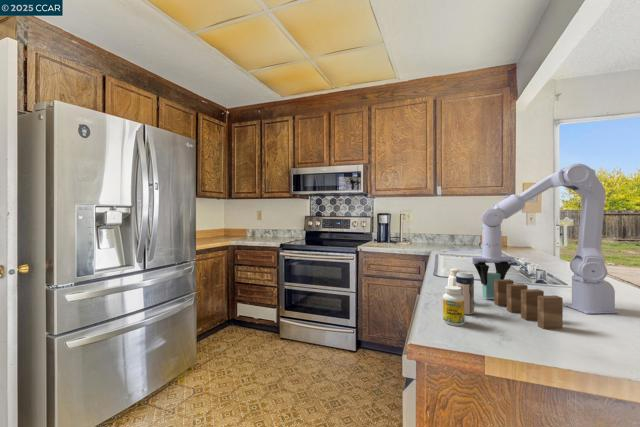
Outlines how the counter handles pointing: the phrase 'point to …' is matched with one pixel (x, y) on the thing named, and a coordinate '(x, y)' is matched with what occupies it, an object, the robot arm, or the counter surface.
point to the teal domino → (490, 285)
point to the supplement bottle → (453, 306)
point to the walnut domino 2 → (514, 297)
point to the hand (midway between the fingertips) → (492, 284)
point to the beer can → (466, 290)
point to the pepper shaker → (452, 277)
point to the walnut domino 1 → (501, 291)
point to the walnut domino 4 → (550, 312)
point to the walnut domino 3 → (530, 303)
